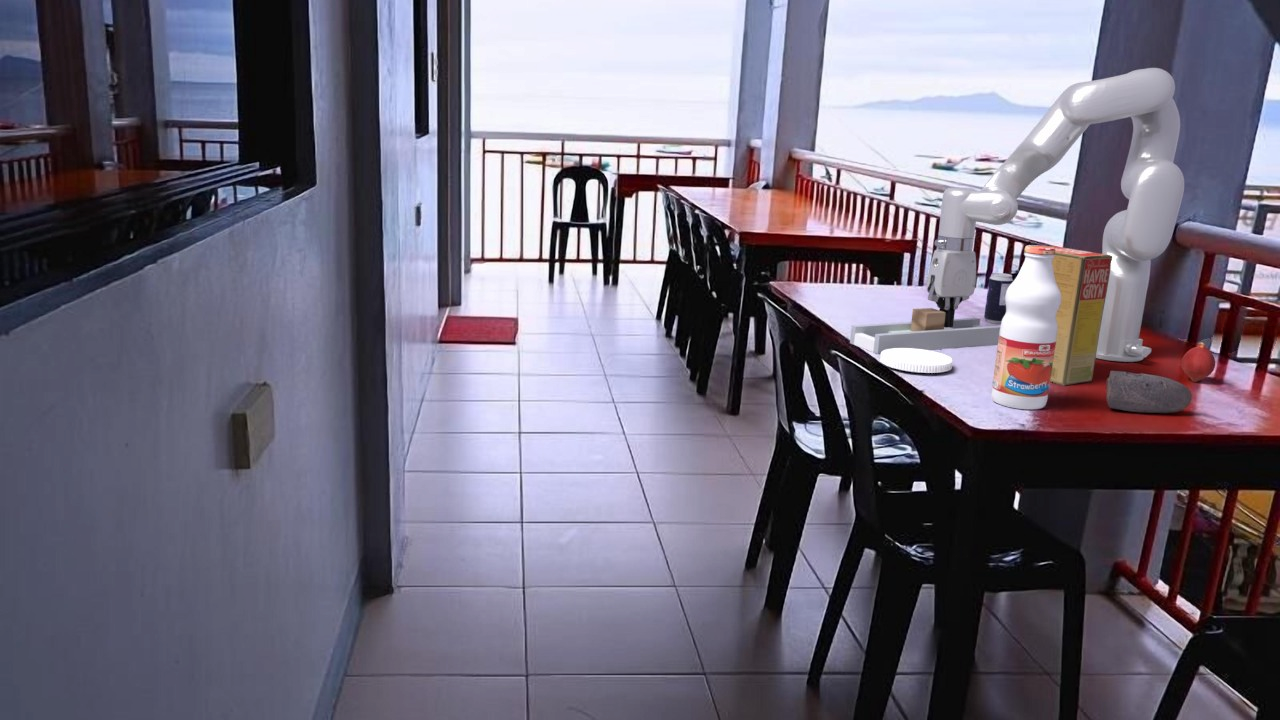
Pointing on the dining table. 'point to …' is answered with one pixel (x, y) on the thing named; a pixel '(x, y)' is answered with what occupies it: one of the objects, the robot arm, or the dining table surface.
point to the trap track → (923, 336)
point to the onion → (1198, 362)
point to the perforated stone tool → (1146, 393)
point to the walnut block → (927, 319)
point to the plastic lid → (916, 360)
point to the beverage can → (997, 297)
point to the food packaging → (1078, 312)
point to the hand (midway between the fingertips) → (945, 325)
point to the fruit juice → (1028, 333)
